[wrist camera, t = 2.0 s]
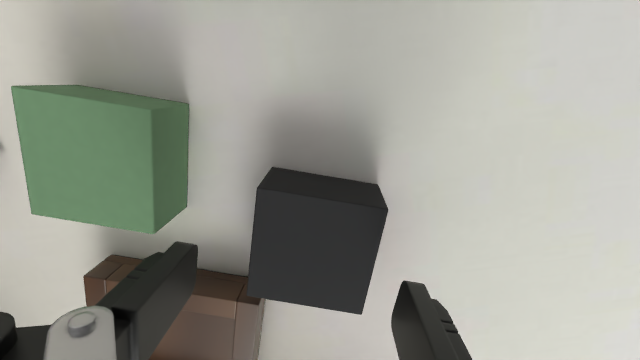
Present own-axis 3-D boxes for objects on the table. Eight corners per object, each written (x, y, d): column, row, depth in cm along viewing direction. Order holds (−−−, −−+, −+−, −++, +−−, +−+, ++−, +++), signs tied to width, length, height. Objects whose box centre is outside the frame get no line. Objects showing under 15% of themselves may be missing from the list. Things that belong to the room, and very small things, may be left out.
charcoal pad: (378, 184, 16) (388, 209, 13) (357, 274, 17) (361, 315, 14) (272, 166, 16) (256, 187, 12) (261, 258, 17) (246, 296, 14)
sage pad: (189, 103, 15) (151, 109, 12) (187, 206, 16) (154, 235, 13) (76, 84, 15) (9, 85, 12) (86, 189, 16) (30, 214, 13)
